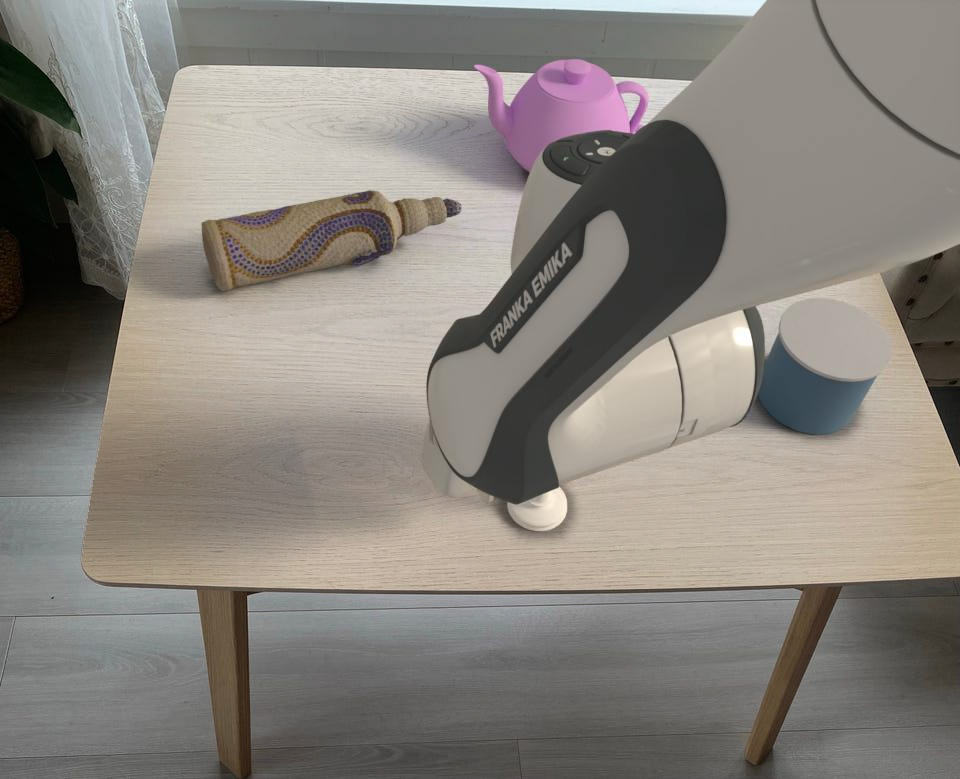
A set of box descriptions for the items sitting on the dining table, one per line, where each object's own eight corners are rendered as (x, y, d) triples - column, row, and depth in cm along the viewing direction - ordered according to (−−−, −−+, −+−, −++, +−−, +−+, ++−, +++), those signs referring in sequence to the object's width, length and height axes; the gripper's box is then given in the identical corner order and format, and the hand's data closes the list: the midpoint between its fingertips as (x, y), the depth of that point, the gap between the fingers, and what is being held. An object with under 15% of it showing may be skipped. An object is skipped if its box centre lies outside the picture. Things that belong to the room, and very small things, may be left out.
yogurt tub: (871, 438, 85) (908, 379, 79) (767, 437, 84) (796, 378, 78) (840, 358, 91) (872, 298, 85) (743, 357, 90) (768, 296, 84)
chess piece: (499, 488, 79) (510, 411, 71) (554, 475, 80) (571, 399, 72) (518, 537, 76) (532, 463, 68) (575, 524, 77) (595, 449, 69)
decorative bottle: (221, 310, 90) (211, 256, 85) (205, 259, 94) (194, 205, 89) (474, 254, 97) (478, 201, 92) (447, 209, 102) (450, 157, 97)
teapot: (471, 198, 103) (478, 100, 94) (464, 123, 112) (470, 27, 103) (651, 201, 105) (675, 104, 96) (629, 126, 114) (650, 32, 105)
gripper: (458, 442, 58) (447, 557, 68) (707, 325, 66) (663, 444, 76) (406, 374, 61) (403, 494, 72) (650, 270, 69) (615, 392, 80)
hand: (539, 467), depth 74 cm, fingers open, 8 cm apart
